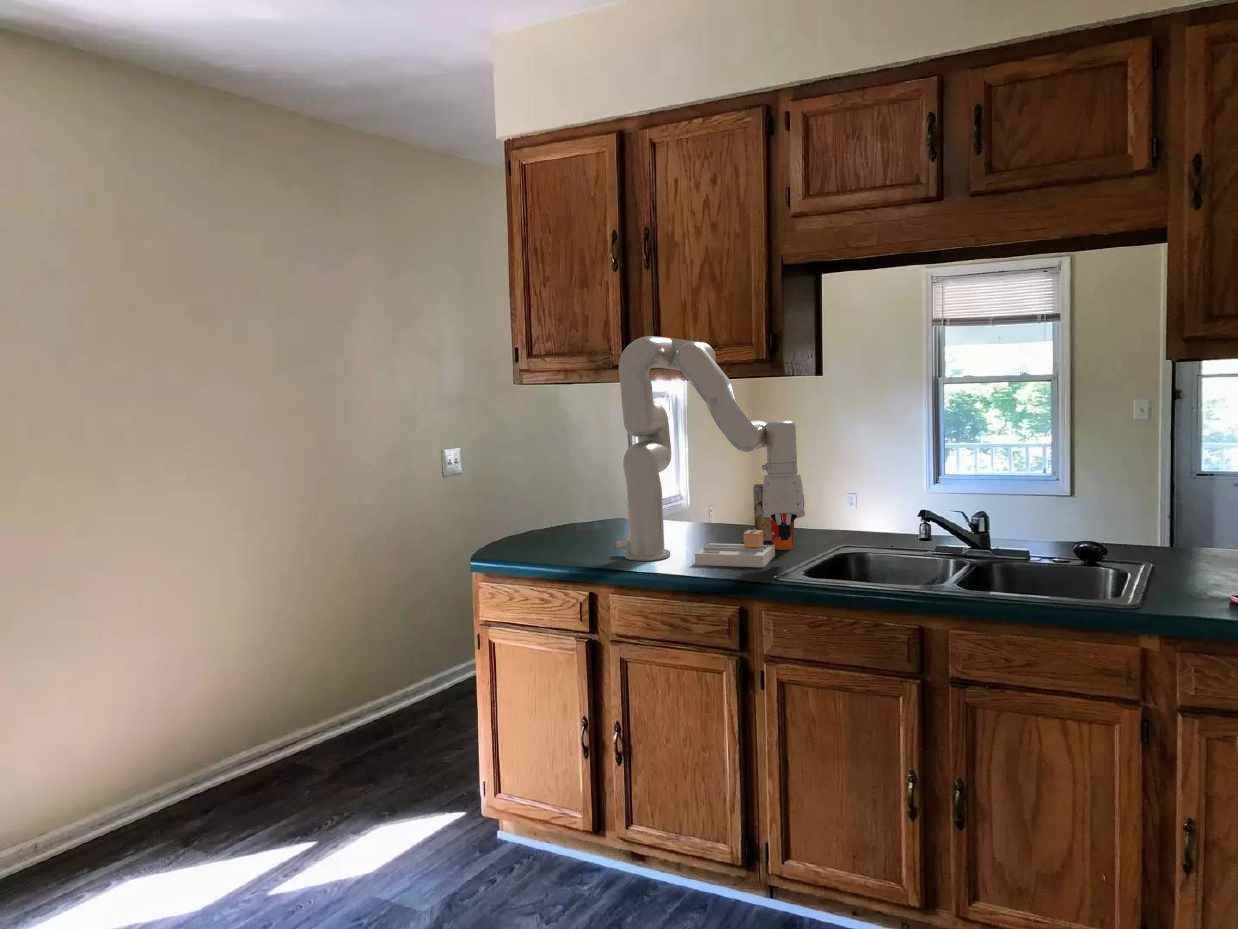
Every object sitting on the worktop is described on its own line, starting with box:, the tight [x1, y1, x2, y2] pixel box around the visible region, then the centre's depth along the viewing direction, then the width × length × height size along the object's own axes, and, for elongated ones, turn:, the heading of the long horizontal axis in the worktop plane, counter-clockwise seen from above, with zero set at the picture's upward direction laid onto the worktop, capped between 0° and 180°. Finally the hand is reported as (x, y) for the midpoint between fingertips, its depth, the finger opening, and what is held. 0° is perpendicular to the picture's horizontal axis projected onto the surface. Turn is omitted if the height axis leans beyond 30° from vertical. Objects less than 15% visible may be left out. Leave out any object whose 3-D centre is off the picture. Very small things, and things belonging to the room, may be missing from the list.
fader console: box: [694, 542, 776, 568], centre depth 244 cm, size 18×14×4 cm
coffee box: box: [752, 483, 772, 542], centre depth 272 cm, size 9×6×16 cm
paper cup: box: [770, 514, 795, 551], centre depth 257 cm, size 8×8×14 cm
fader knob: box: [743, 528, 764, 548], centre depth 242 cm, size 4×5×5 cm
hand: (785, 539), depth 239 cm, fingers closed
